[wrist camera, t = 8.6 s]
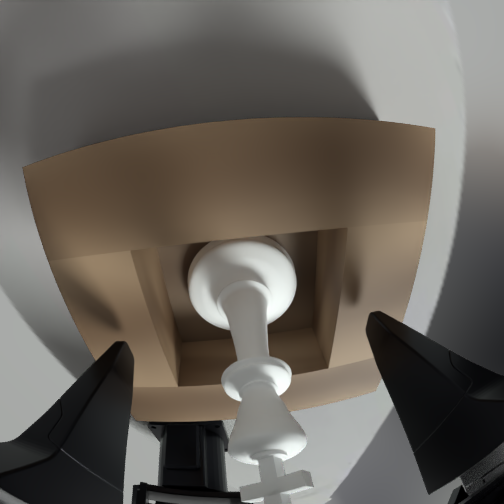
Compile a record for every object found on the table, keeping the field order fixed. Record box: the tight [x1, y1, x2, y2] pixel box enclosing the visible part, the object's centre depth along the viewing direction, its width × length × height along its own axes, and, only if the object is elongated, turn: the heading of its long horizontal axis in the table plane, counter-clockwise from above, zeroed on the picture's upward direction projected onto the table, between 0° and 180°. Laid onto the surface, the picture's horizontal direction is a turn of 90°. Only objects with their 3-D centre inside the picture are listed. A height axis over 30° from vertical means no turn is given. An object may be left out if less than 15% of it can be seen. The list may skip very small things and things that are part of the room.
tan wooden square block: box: [22, 117, 435, 422], centre depth 12 cm, size 14×14×4 cm
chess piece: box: [188, 236, 314, 504], centre depth 8 cm, size 5×5×10 cm
